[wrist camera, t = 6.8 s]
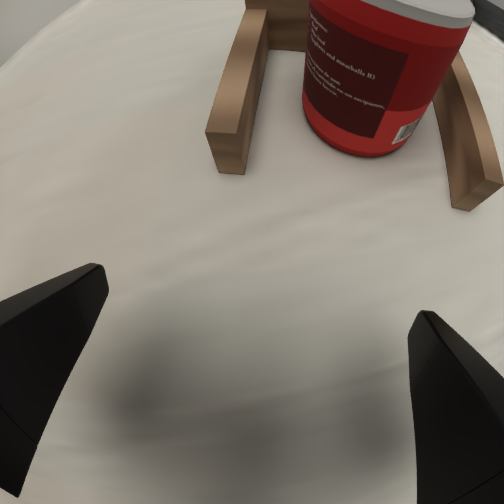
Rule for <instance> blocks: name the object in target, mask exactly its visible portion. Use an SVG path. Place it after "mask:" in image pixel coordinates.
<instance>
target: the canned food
mask: <svg viewBox="0 0 504 504" xmlns="http://www.w3.org/2000/svg"><path fill="white" fill-rule="evenodd" d="M474 14H475V8H474V6H473V4H472V2H471V1H470V0H309V5H308V23H307V39H306V54H305V68H304V81H303V94H302V101H303V107H304V110H305V113H306V116H307V118H308V121H309V123H310V125H311V126H312V128H313V129H314V131H315V132H316V133H317V134H318V135H319V136H320V137H321V138H322V139H323V140H325V141H326V142H327V143H329V144H330V145H332V146H334V147H336V148H337V149H339V150H341V151H344V152H347V153H350V154H353V155H359V156H379V155H384V154H387V153H389V152H392V151H393V150H395V149H397V148H398V147H399V146H401V145H402V144H404V143H405V142H406V141H407V139H408V138H409V137H410V136H411V134H412V132H413V131H414V129H415V127H416V126H417V124H418V122H419V121H420V119H421V117H422V116H423V114H424V112H425V111H426V109H427V107H428V105H429V104H430V102H431V100H432V99H433V97H434V95H435V93H436V92H437V90H438V88H439V86H440V84H441V83H442V81H443V79H444V77H445V75H446V74H447V72H448V70H449V68H450V66H451V64H452V62H453V61H454V59H455V57H456V55H457V53H458V51H459V49H460V47H461V45H462V43H463V41H464V39H465V37H466V34H467V32H468V30H469V28H470V26H471V24H472V18H473V16H474Z"/></svg>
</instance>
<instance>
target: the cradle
mask: <svg viewBox="0 0 504 504" xmlns="http://www.w3.org/2000/svg"><path fill="white" fill-rule="evenodd" d="M245 5H246V10H245V13H244V15H243V18H242V21H241V23H240V26H239V29H238V31H237V34H236V37H235V40H234V42H233V45H232V48H231V51H230V54H229V57H228V60H227V63H226V66H225V69H224V72H223V75H222V78H221V81H220V84H219V87H218V90H217V93H216V97H215V100H214V103H213V106H212V110H211V113H210V116H209V120H208V123H207V127H206V130H205V134H206V137H207V140H208V143H209V146H210V149H211V151H212V154H213V157H214V160H215V163H216V166H217V169H218V172H219V173H231V174H243V175H244V172H245V167H246V162H247V156H248V151H249V146H250V141H251V135H252V130H253V125H254V120H255V115H256V110H257V105H258V100H259V95H260V90H261V85H262V80H263V75H264V70H265V65H266V60H267V56H268V51H269V49H280V50H292V51H303V52H306V39H307V23H308V5H309V0H245ZM474 15H475V14H474ZM473 17H474V16H473ZM472 20H473V18H472ZM432 100H433V104H434V108H435V111H436V116H437V120H438V124H439V129H440V133H441V138H442V143H443V148H444V154H445V160H446V166H447V172H448V179H449V186H450V195H451V204H452V207H453V208H457V209H461V210H466V211H471V210H472V209H474V208H475V207H476V206H478V205H479V204H480V203H482V202H483V201H484V200H486V199H487V198H488V197H490V196H491V195H492V194H493V193H495V192H496V191H497V190H499V189H500V188H501V187H502V186H504V182H503V177H502V173H501V168H500V164H499V160H498V156H497V152H496V148H495V145H494V141H493V138H492V134H491V131H490V128H489V125H488V122H487V119H486V116H485V113H484V110H483V107H482V104H481V102H480V99H479V96H478V94H477V91H476V89H475V86H474V84H473V81H472V79H471V76H470V74H469V72H468V70H467V67H466V65H465V63H464V61H463V59H462V57H461V55H460V52H459V51H458V53H457V55H456V57H455V59H454V61H453V62H452V64H451V66H450V68H449V70H448V72H447V74H446V75H445V77H444V79H443V81H442V83H441V84H440V86H439V88H438V90H437V92H436V93H435V95H434V97H433V99H432Z"/></svg>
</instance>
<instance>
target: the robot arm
mask: <svg viewBox="0 0 504 504" xmlns="http://www.w3.org/2000/svg"><path fill="white" fill-rule="evenodd" d="M108 293H109V286H108V282H107V278H106V274H105V269H104V267H103V266H102V265H100V264H95V263H89V264H86V265H84V266H81V267H79V268H76V269H74V270H72V271H69V272H67V273H64V274H62V275H60V276H57V277H55V278H53V279H50V280H48V281H46V282H43V283H41V284H39V285H36V286H34V287H32V288H29V289H27V290H25V291H23V292H20V293H18V294H16V295H14V296H11V297H9V298H7V299H5V300H3V301H1V302H0V488H2V489H3V490H5V491H7V492H8V493H10V494H12V495H13V496H15V497H17V498H18V497H19V495H20V493H21V490H22V487H23V484H24V481H25V478H26V476H27V473H28V470H29V467H30V465H31V462H32V459H33V457H34V454H35V452H36V449H37V447H38V446H37V445H38V444H39V441H40V439H41V436H42V434H43V432H44V429H45V427H46V425H47V422H48V420H49V418H50V415H51V413H52V411H53V409H54V407H55V404H56V402H57V400H58V398H59V396H60V394H61V392H62V390H63V387H64V385H65V383H66V381H67V379H68V377H69V375H70V373H71V371H72V369H73V367H74V365H75V363H76V361H77V359H78V358H79V356H80V354H81V352H82V350H83V348H84V346H85V344H86V342H87V341H88V339H89V337H90V335H91V332H92V330H93V328H94V326H95V323H96V321H97V319H98V316H99V314H100V312H101V309H102V307H103V305H104V303H105V301H106V298H107V296H108ZM408 354H409V379H410V392H411V401H412V410H413V420H414V431H415V445H416V464H417V504H504V378H503V377H502V376H501V375H500V374H499V373H498V372H497V371H496V370H495V369H494V368H493V367H492V366H491V365H490V364H489V363H488V362H487V361H486V360H485V359H484V358H483V357H482V356H481V355H480V354H479V353H478V352H477V351H476V350H475V349H474V348H473V347H472V346H471V345H470V344H469V343H468V342H467V341H466V340H464V339H463V338H462V337H461V336H460V335H459V334H458V333H457V332H456V331H455V330H454V329H453V328H452V327H450V326H449V325H448V324H447V323H446V322H445V321H444V320H443V319H442V318H441V317H439V316H438V315H437V314H436V313H435V312H433V311H427V310H421V311H420V312H419V313H418V314H417V316H416V318H415V320H414V323H413V325H412V327H411V329H410V331H409V334H408Z"/></svg>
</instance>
